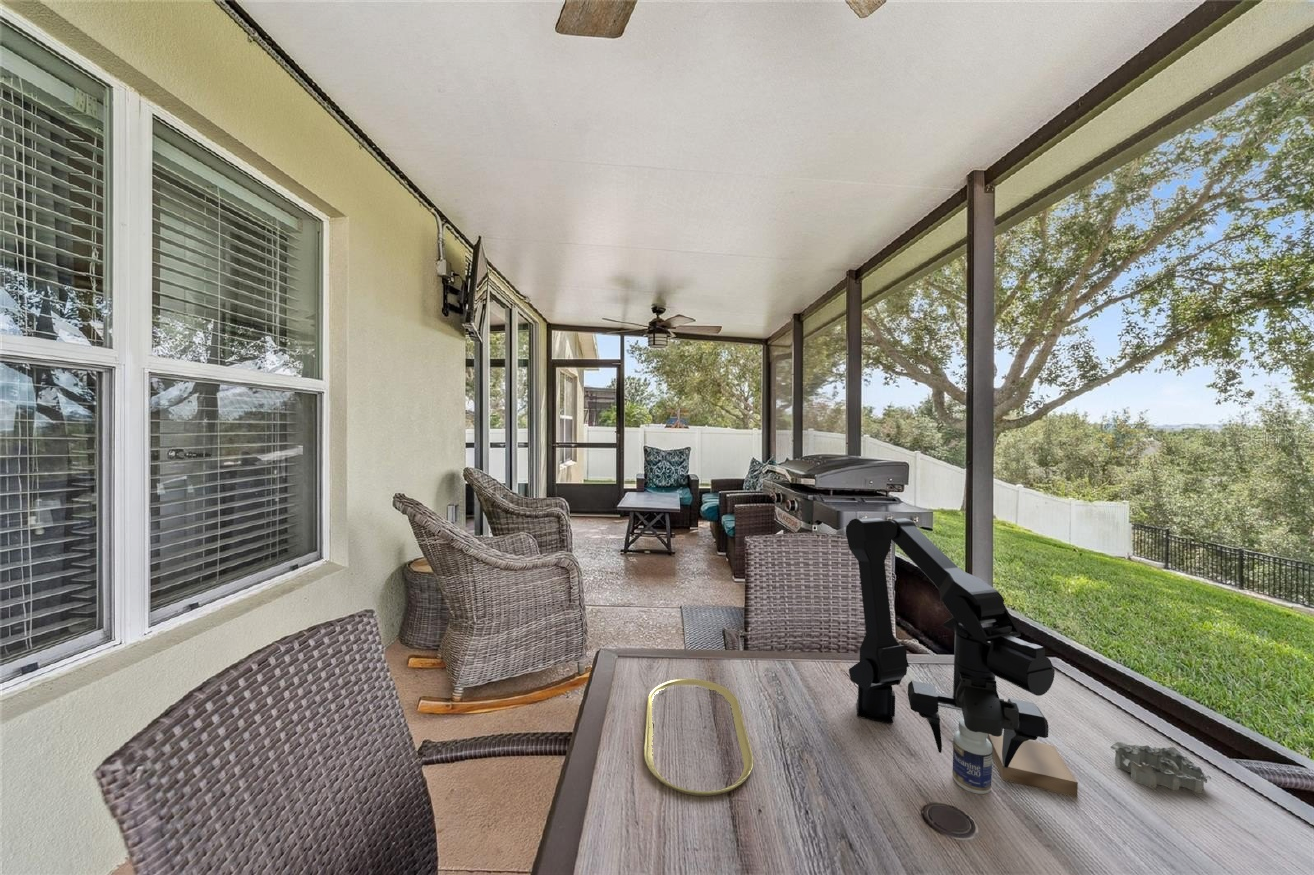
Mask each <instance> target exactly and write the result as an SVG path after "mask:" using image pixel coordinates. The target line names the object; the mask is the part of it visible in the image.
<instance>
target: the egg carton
mask: <svg viewBox="0 0 1314 875" xmlns="http://www.w3.org/2000/svg"><path fill="white" fill-rule="evenodd" d="M1109 747H1110V749H1111V750H1113V751H1115V752H1114V753H1115V757H1114V764H1115V766H1116V767H1117V768H1118V769H1120V770H1124V771H1127V772H1129V773H1130V778H1131V780H1133V781H1134V782H1136V783H1137V784H1142V785H1143V786H1146V787H1148V788H1152V789H1156V788H1157V786H1158V785H1161V786H1164V787H1166V788H1168V789H1170V790H1172V791H1180V787H1181V788H1186V789H1189V790H1191V791H1193V792H1194V793H1200V794H1201V793H1203V790H1204V789H1205V787H1204V786H1205V785H1204V783H1208V780H1212V777H1211V776H1210V775H1205V773H1204V772H1203V771H1202V768H1201V767H1199V766H1197V765H1195V763H1194V762H1193V761H1192V760H1190V759H1189V758H1188V757H1187V756H1183V754H1182V753H1181V752H1180V751H1179V750H1178V749H1177V748H1176V747H1174V746H1172V747H1171V746H1170V747H1161V748H1160V747H1157V746H1154V747H1151V746H1150V745H1148V744H1147V745H1137V744H1135V745H1133V744H1127V743H1123V742H1120V741H1118V742H1115V743H1113V744H1112V745H1111V746H1109Z"/></svg>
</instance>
